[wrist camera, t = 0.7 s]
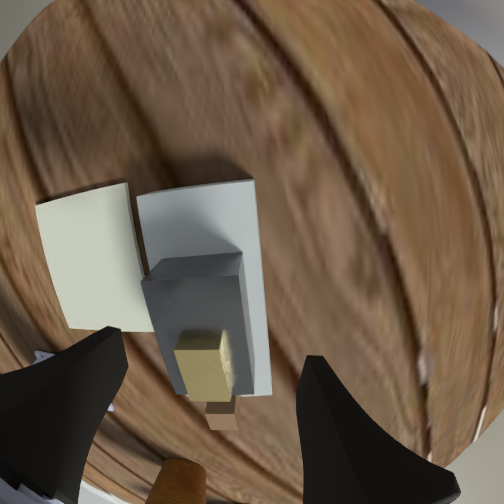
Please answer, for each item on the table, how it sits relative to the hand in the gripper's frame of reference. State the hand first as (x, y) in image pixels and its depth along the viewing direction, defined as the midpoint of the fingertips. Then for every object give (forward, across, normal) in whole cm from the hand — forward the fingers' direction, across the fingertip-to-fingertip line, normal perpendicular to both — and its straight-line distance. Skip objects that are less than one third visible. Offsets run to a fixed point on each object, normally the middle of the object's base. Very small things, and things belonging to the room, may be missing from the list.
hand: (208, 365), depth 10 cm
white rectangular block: (+10, +1, +2) cm, 11 cm away
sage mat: (+10, +12, +2) cm, 16 cm away
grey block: (+7, +1, +2) cm, 8 cm away
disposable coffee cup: (+10, +6, +33) cm, 35 cm away
